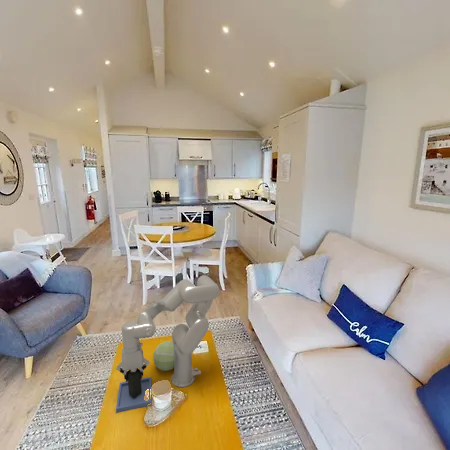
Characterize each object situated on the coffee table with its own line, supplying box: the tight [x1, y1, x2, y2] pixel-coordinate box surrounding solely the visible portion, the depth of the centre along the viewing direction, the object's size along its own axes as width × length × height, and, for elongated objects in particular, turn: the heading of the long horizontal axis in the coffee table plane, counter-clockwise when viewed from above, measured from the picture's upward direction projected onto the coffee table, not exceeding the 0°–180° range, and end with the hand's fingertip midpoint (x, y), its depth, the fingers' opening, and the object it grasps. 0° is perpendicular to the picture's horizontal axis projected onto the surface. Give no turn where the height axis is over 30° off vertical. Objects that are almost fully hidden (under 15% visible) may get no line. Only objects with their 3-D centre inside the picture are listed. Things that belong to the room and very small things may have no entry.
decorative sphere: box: [152, 340, 174, 372], centre depth 151 cm, size 15×15×15 cm
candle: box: [127, 368, 142, 398], centre depth 131 cm, size 5×5×25 cm
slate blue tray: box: [115, 376, 152, 414], centre depth 133 cm, size 16×16×2 cm
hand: (134, 378), depth 131 cm, fingers closed on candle, 6 cm apart
